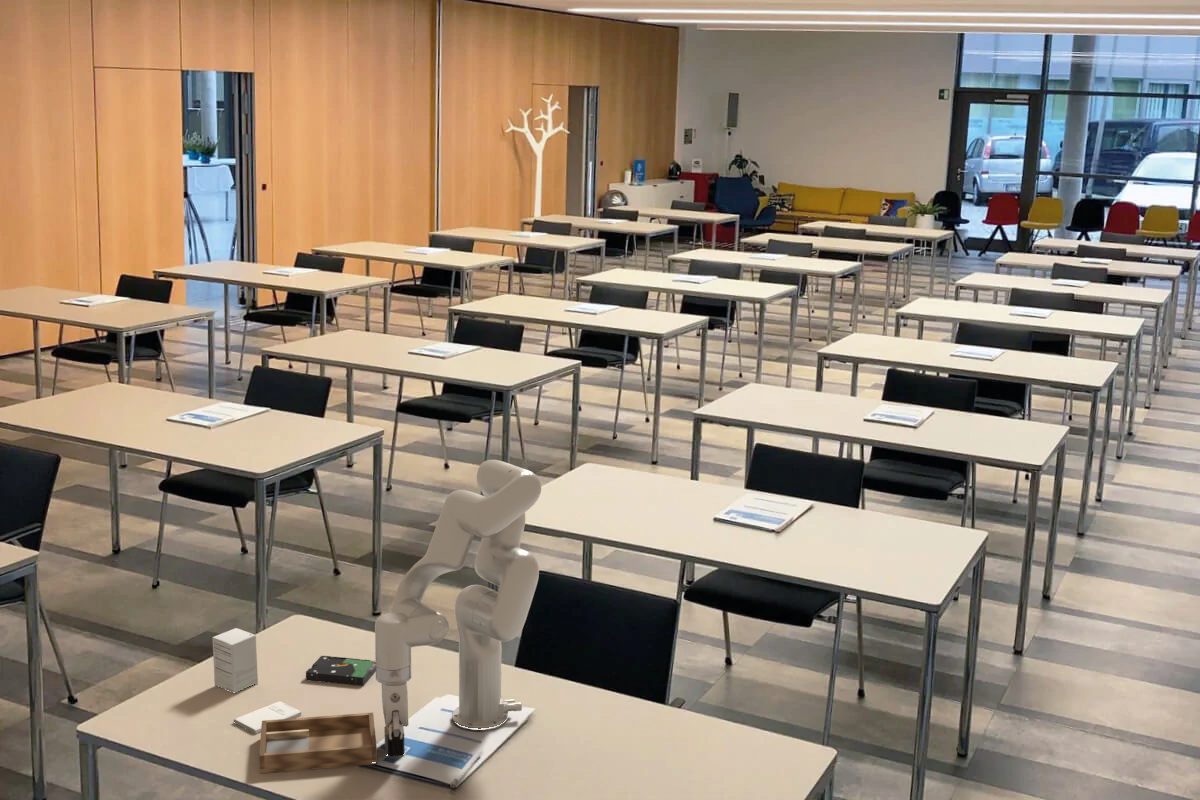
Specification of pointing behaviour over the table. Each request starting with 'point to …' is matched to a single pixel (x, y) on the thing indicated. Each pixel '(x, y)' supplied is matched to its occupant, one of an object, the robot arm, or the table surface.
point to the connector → (386, 731)
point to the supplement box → (235, 660)
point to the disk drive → (341, 670)
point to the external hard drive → (266, 716)
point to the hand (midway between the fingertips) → (394, 744)
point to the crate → (317, 742)
